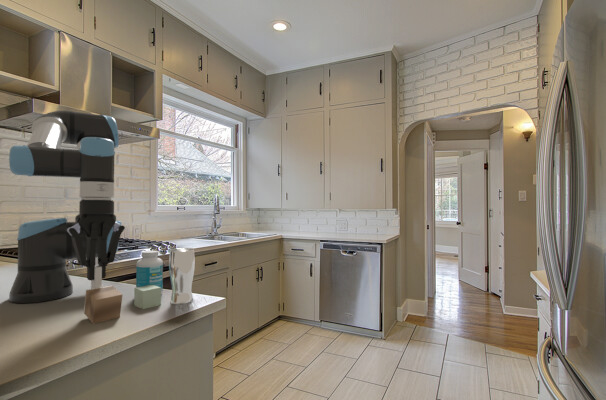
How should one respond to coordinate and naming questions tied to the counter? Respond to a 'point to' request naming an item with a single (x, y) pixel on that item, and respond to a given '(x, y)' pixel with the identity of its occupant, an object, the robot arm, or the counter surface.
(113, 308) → the walnut block
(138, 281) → the pill bottle
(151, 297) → the sage block
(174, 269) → the beer glass
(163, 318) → the counter surface
